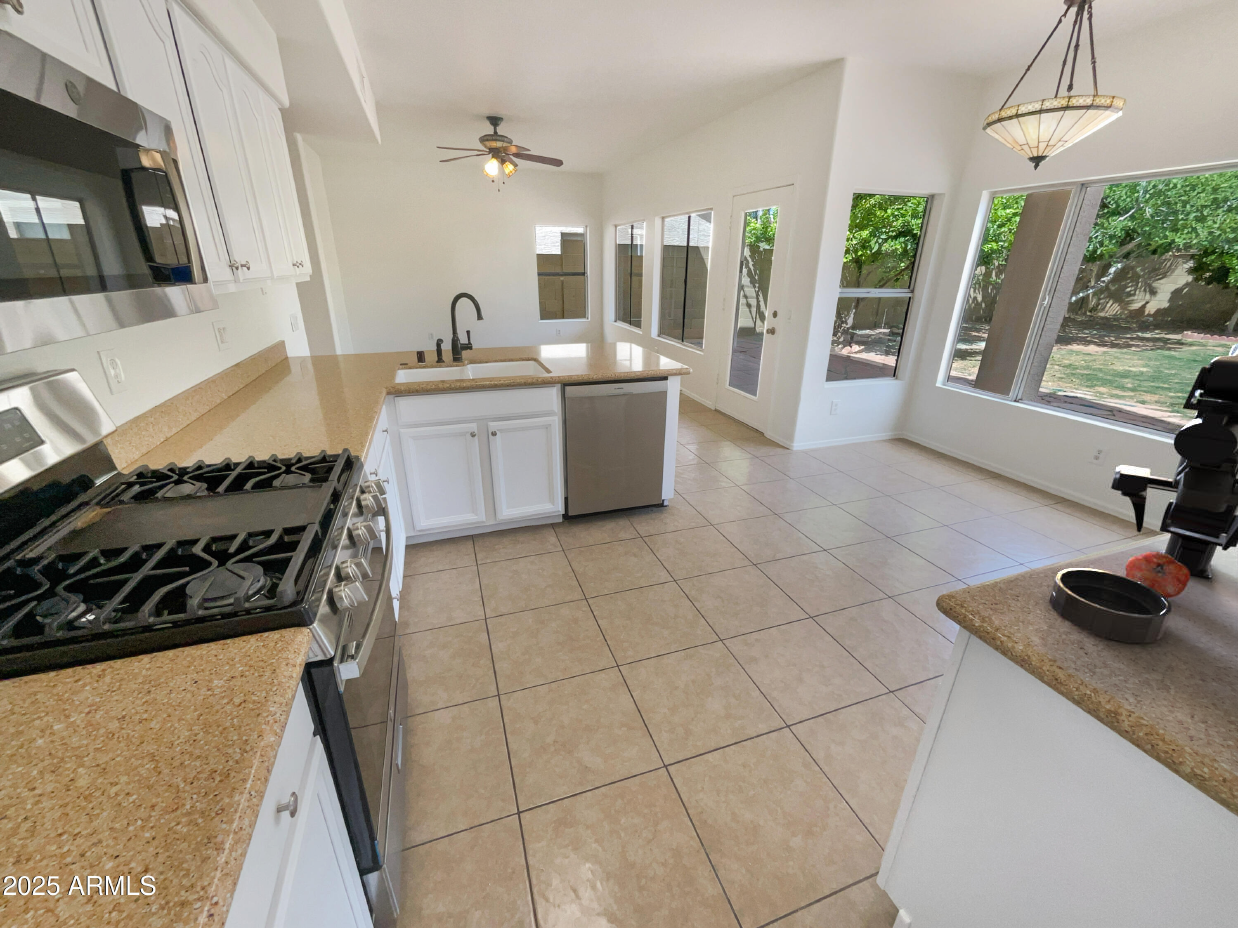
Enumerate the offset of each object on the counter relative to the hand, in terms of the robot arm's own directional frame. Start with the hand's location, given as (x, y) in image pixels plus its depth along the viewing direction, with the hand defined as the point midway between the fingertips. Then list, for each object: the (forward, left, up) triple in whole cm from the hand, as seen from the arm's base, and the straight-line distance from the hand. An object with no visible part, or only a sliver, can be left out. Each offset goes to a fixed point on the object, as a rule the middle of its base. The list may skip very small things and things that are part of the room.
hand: (1179, 540), depth 80 cm
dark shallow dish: (+11, -6, -11) cm, 17 cm away
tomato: (-3, -1, -12) cm, 12 cm away
